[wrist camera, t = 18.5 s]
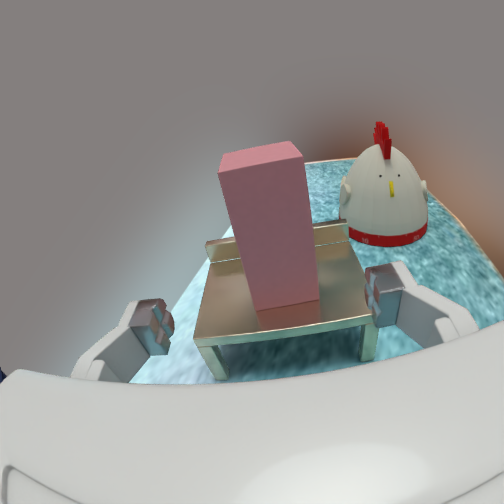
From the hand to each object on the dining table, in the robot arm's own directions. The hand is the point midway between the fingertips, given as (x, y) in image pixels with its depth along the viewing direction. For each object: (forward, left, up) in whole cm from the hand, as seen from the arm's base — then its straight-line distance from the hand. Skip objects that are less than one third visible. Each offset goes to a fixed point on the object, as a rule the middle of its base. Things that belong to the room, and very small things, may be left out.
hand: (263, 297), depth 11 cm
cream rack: (0, +10, -14) cm, 17 cm away
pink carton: (0, +10, -8) cm, 13 cm away
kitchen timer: (+16, +28, -14) cm, 36 cm away
